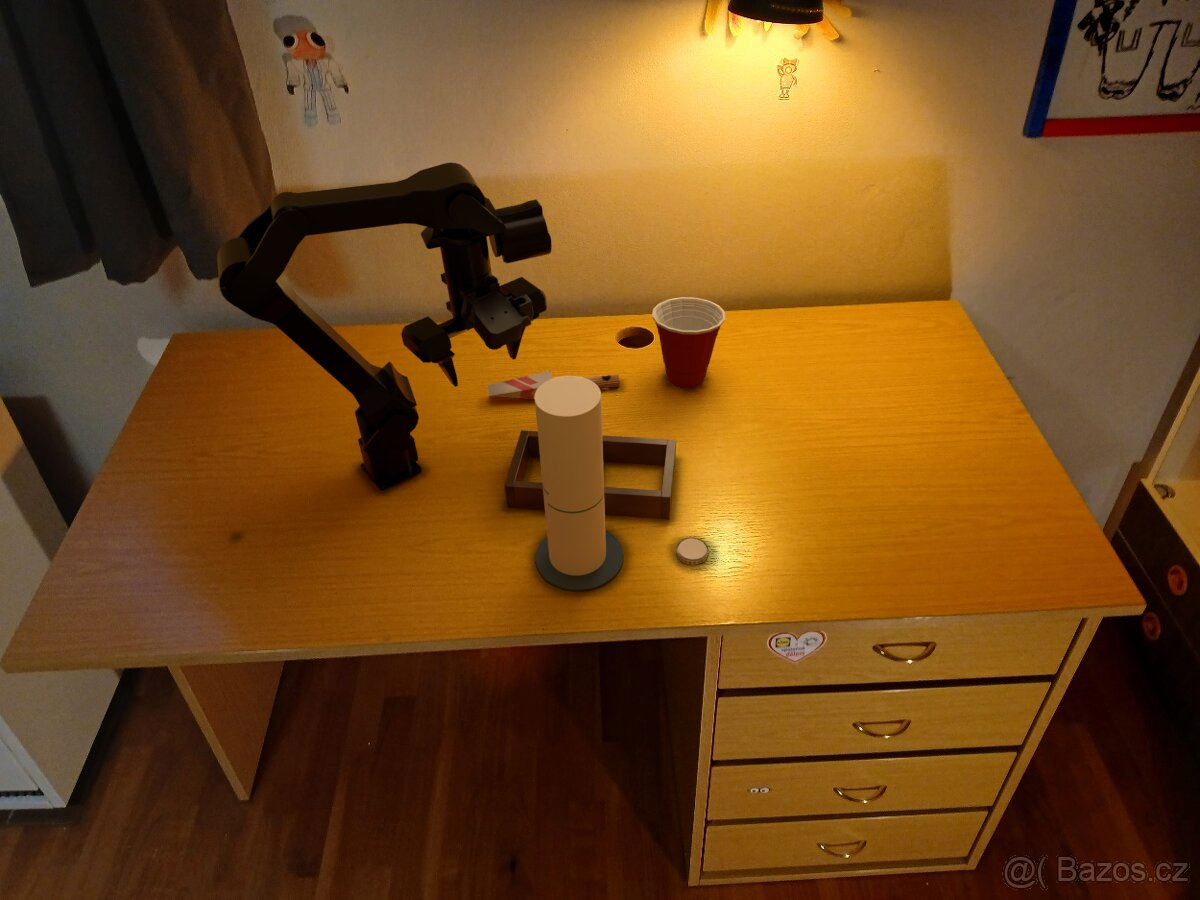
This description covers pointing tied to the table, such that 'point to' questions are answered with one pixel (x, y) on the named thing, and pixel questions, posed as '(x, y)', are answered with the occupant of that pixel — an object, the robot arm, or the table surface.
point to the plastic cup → (687, 338)
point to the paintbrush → (530, 384)
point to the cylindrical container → (572, 472)
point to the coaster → (588, 580)
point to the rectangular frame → (614, 498)
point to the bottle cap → (692, 550)
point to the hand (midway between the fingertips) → (484, 371)
